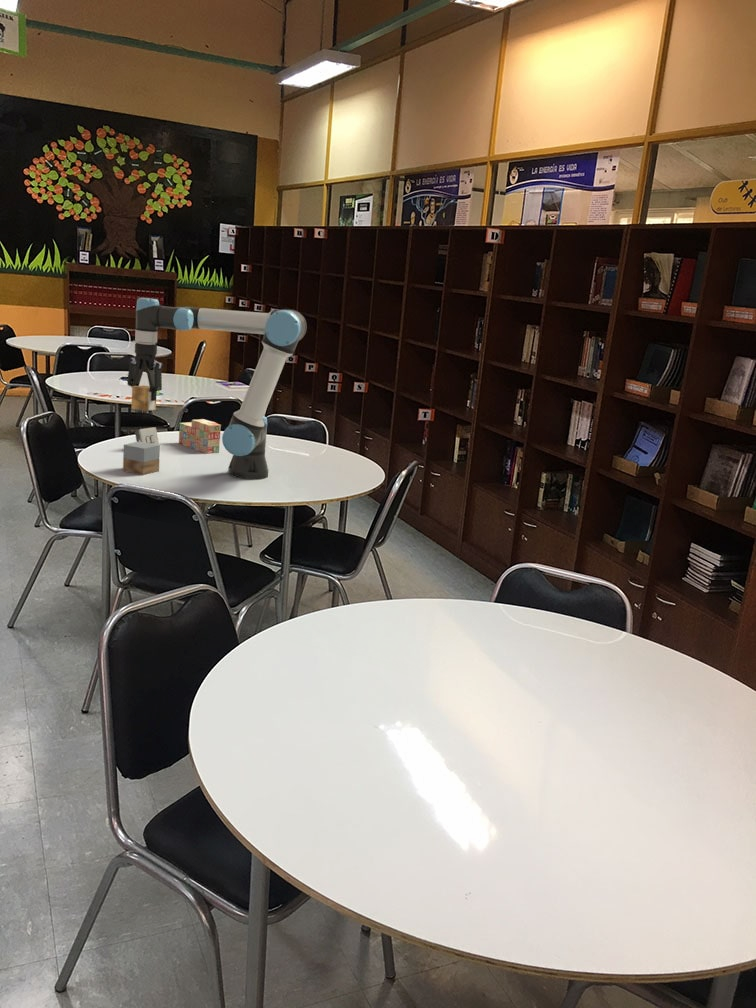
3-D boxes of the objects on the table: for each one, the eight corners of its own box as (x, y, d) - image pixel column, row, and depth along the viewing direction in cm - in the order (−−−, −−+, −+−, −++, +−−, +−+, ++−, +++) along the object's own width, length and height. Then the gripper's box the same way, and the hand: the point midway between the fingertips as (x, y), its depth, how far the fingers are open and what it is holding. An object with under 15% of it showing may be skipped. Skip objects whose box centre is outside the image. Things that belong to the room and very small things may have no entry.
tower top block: (159, 458, 304) (159, 445, 303) (143, 462, 296) (144, 448, 294) (139, 454, 307) (139, 441, 306) (123, 458, 299) (123, 444, 297)
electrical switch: (143, 452, 333) (142, 429, 331) (134, 451, 335) (133, 428, 333) (160, 450, 341) (159, 427, 339) (150, 449, 343) (149, 426, 341)
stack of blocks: (178, 444, 356) (179, 415, 353) (190, 443, 361) (191, 415, 358) (207, 454, 342) (208, 424, 339) (219, 453, 347) (221, 424, 344)
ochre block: (155, 409, 299) (156, 387, 297) (144, 411, 294) (145, 388, 292) (142, 407, 301) (143, 385, 299) (131, 408, 296) (132, 386, 294)
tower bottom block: (159, 471, 305) (159, 458, 304) (142, 475, 297) (143, 462, 296) (139, 467, 308) (139, 454, 307) (123, 471, 300) (123, 458, 299)
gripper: (174, 346, 291) (171, 411, 297) (132, 339, 298) (130, 403, 304) (160, 346, 285) (157, 413, 290) (117, 339, 292) (115, 404, 298)
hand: (143, 407), depth 297 cm, fingers closed on ochre block, 6 cm apart
